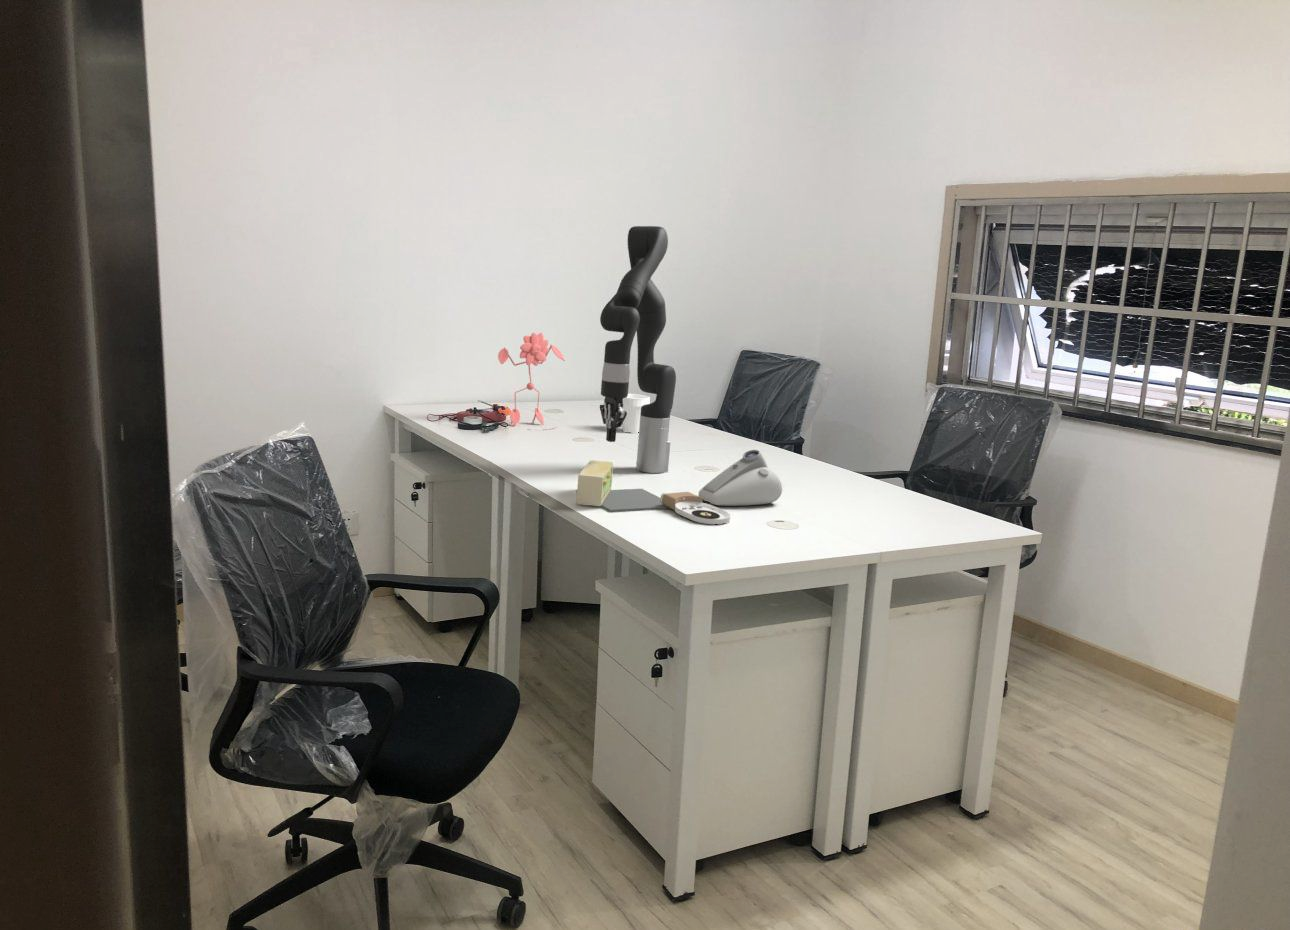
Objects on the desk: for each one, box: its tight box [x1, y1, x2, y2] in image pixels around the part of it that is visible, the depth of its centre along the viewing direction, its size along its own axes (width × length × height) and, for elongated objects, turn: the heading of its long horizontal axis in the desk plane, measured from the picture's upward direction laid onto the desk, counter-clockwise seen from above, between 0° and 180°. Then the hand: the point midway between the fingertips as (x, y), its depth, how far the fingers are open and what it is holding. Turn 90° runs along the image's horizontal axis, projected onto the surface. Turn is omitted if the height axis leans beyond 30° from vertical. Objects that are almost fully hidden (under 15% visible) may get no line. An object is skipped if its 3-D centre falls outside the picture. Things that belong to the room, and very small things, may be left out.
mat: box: [599, 488, 672, 513], centre depth 270 cm, size 20×20×1 cm
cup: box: [621, 393, 651, 434], centre depth 377 cm, size 12×12×14 cm
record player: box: [660, 490, 731, 525], centre depth 261 cm, size 12×3×20 cm
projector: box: [697, 449, 783, 507], centre depth 280 cm, size 22×23×15 cm
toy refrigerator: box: [576, 459, 614, 507], centre depth 269 cm, size 8×7×21 cm
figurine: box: [497, 332, 565, 431], centre depth 368 cm, size 15×26×35 cm, turn 125°
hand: (610, 441), depth 277 cm, fingers closed
